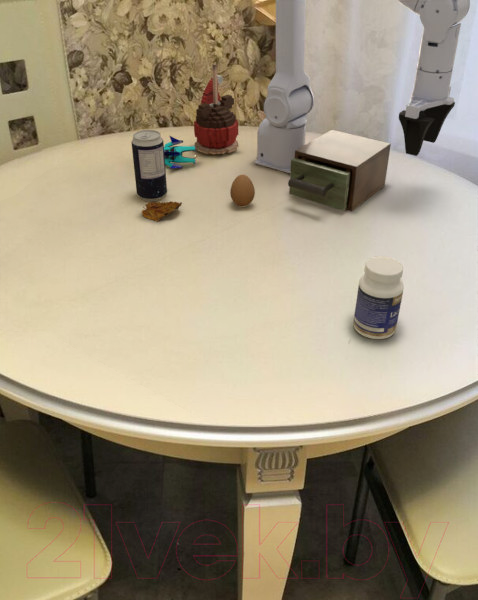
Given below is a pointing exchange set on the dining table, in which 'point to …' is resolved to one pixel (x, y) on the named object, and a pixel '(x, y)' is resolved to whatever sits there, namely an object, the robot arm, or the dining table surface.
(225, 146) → the cake
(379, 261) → the pill bottle
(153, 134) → the beverage can
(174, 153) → the figurine
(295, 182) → the drawer
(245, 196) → the egg
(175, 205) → the leaf
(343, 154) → the cabinet
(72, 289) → the dining table surface
